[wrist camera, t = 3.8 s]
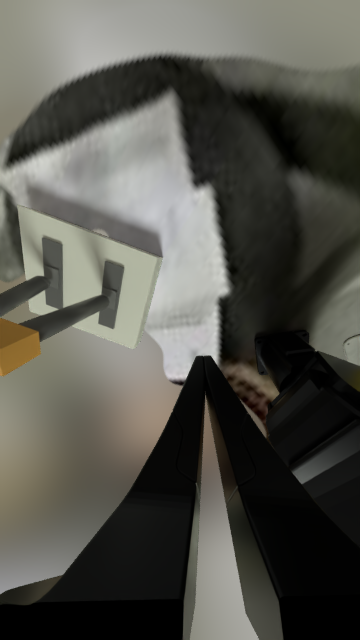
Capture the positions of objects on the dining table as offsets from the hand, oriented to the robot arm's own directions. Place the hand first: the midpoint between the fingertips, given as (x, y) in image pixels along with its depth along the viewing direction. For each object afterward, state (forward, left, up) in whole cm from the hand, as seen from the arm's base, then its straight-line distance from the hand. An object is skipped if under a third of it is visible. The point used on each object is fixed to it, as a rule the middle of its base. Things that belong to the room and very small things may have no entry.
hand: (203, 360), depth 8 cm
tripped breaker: (+4, +11, -9) cm, 15 cm away
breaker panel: (+6, +14, -12) cm, 19 cm away
